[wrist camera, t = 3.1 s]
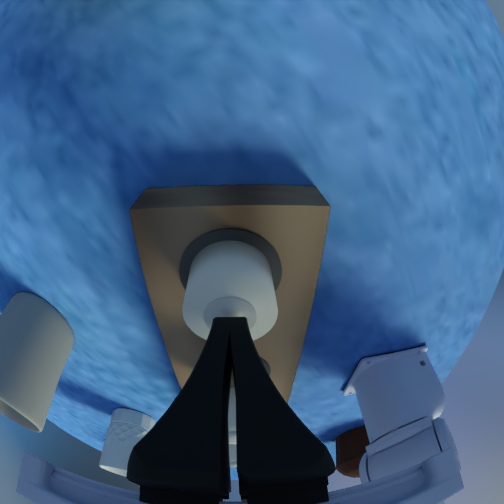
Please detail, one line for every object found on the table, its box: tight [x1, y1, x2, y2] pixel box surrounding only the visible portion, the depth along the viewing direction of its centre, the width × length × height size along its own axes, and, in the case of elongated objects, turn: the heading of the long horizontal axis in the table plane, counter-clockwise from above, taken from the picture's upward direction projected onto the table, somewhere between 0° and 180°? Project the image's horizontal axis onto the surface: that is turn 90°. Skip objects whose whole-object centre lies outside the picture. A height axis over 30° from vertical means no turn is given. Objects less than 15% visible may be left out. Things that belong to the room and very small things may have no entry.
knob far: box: [229, 444, 237, 467], centre depth 22 cm, size 4×4×3 cm
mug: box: [0, 292, 74, 432], centre depth 17 cm, size 12×8×11 cm
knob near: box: [182, 241, 278, 341], centre depth 14 cm, size 4×4×3 cm
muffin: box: [335, 425, 370, 477], centre depth 39 cm, size 12×11×10 cm
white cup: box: [99, 408, 155, 476], centre depth 29 cm, size 8×8×10 cm
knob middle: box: [228, 388, 236, 444], centre depth 17 cm, size 4×4×3 cm
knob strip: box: [129, 185, 330, 403], centre depth 22 cm, size 10×28×3 cm, turn 179°
